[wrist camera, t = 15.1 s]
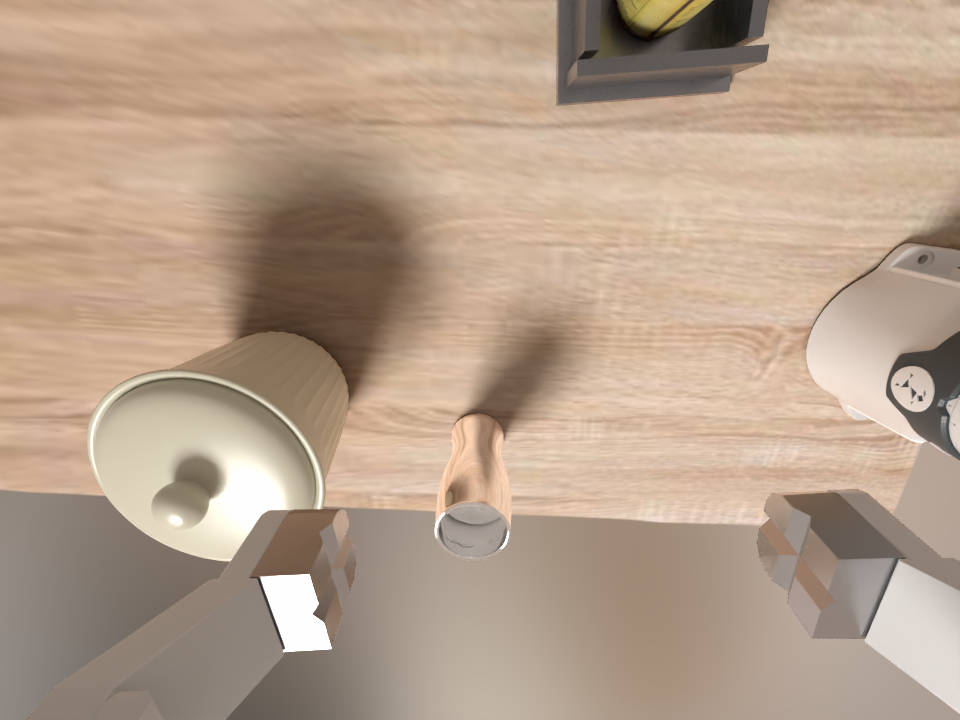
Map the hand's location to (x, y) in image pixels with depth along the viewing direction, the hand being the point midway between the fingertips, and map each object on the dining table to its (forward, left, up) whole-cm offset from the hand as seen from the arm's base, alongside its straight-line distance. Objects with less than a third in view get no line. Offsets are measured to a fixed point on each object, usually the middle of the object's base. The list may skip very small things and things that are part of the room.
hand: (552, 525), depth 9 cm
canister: (+24, +14, -37) cm, 47 cm away
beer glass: (+4, +22, -37) cm, 44 cm away
